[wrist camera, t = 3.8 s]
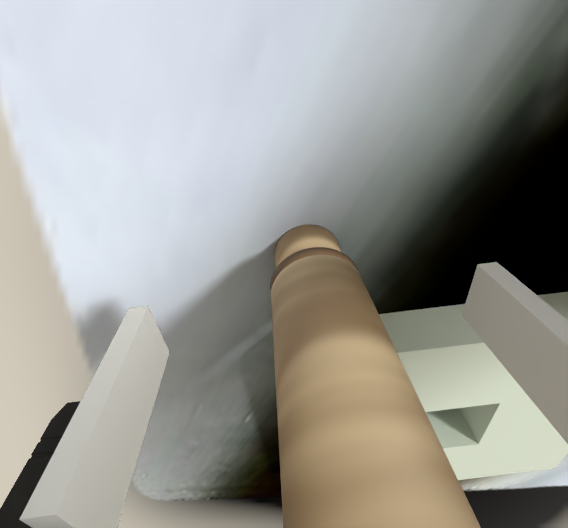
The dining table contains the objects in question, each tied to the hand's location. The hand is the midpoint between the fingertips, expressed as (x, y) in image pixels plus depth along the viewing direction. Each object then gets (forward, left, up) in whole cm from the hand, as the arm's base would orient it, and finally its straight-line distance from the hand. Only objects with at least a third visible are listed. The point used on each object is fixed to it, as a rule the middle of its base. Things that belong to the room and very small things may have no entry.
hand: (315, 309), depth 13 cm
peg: (0, 0, -4) cm, 4 cm away
